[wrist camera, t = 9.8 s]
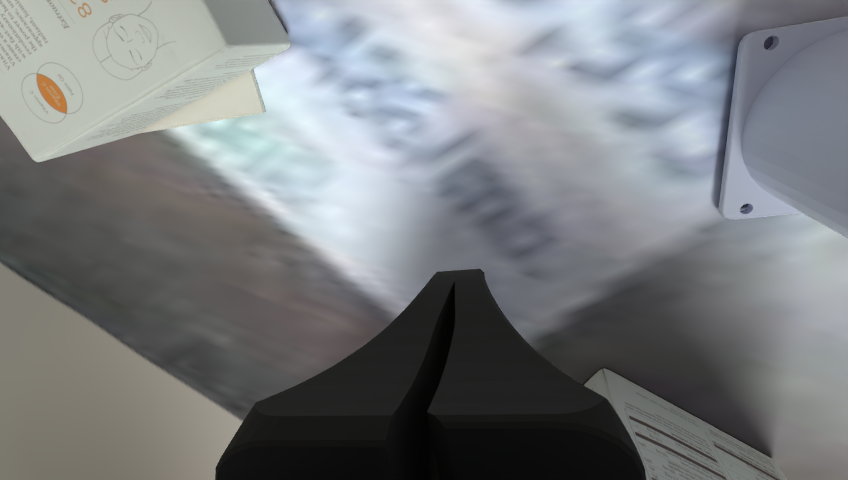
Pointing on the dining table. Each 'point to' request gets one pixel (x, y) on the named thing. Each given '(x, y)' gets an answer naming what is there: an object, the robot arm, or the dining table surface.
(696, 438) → the supplement box
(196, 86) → the small box
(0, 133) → the dining table surface
